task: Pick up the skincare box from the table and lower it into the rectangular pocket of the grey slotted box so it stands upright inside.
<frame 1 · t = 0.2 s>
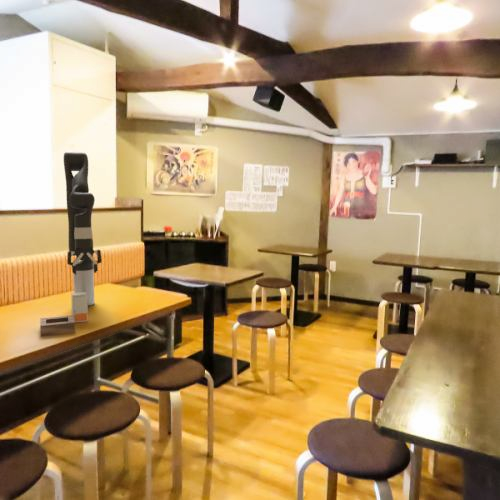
hand: (85, 273, 196), 18 cm above the table, tool pointing down, fingers open, 8 cm apart
skincare box: (80, 321, 184), on the table
grey slotted box: (57, 330, 172), on the table
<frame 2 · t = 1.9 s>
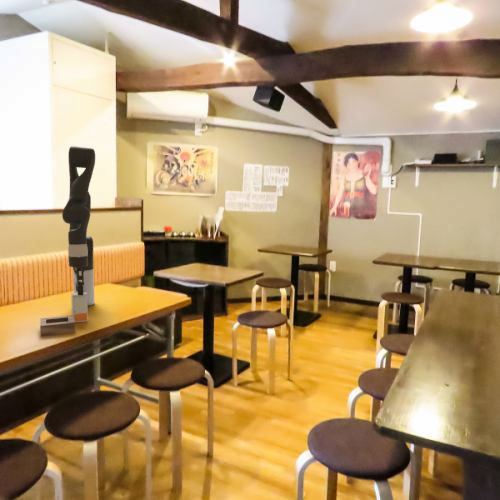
hand: (79, 293, 183), 12 cm above the table, tool pointing down, fingers open, 8 cm apart
nothing on the table moved.
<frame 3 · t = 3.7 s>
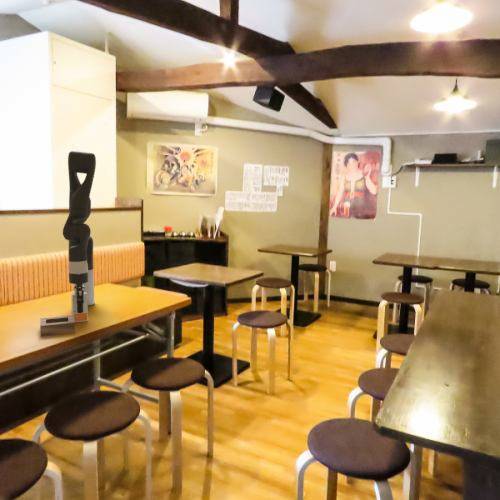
hand: (79, 311, 184), 4 cm above the table, tool pointing down, fingers closed on skincare box, 4 cm apart
skincare box: (80, 321, 184), on the table, touching gripper
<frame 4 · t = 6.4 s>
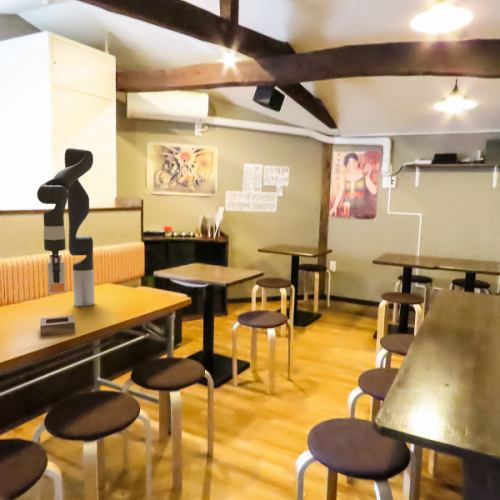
hand: (56, 281, 169), 20 cm above the table, tool pointing down, fingers closed on skincare box, 4 cm apart
skincare box: (57, 292, 170), point 15 cm above the table, touching gripper
when the fingers open (6 cm above the table, at t = 9.1 s): skincare box stays where it is, resting on grey slotted box.
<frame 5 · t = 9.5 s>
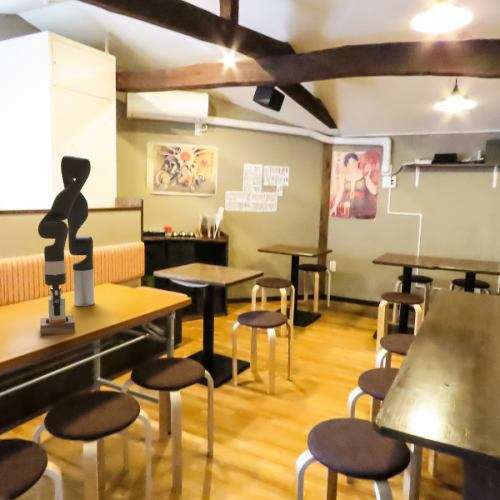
hand: (56, 312, 171), 7 cm above the table, tool pointing down, fingers open, 8 cm apart
skincare box: (57, 328, 172), point 1 cm above the table, touching grey slotted box
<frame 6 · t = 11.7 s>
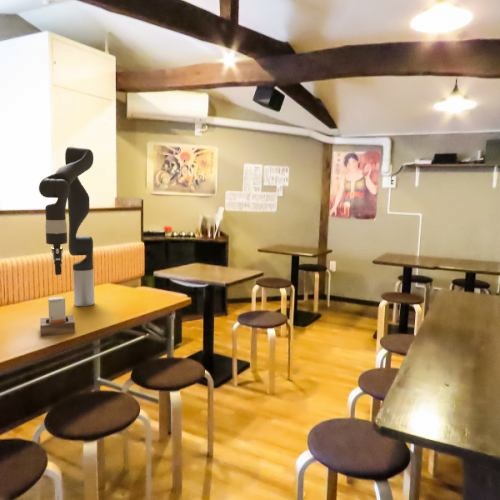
hand: (58, 272, 171), 23 cm above the table, tool pointing down, fingers open, 8 cm apart
nothing on the table moved.
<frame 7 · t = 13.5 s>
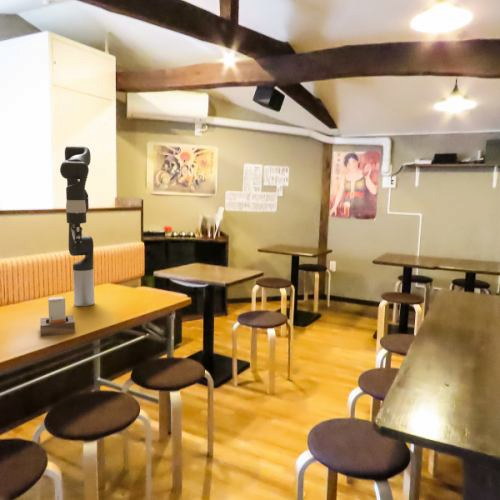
hand: (77, 250, 180), 30 cm above the table, tool pointing down, fingers open, 8 cm apart
nothing on the table moved.
at the end: skincare box 0.2 cm off-centre on the grey slotted box, point 0.8 cm above the grey slotted box's base; skincare box tilted 0°; the gripper is holding nothing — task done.
